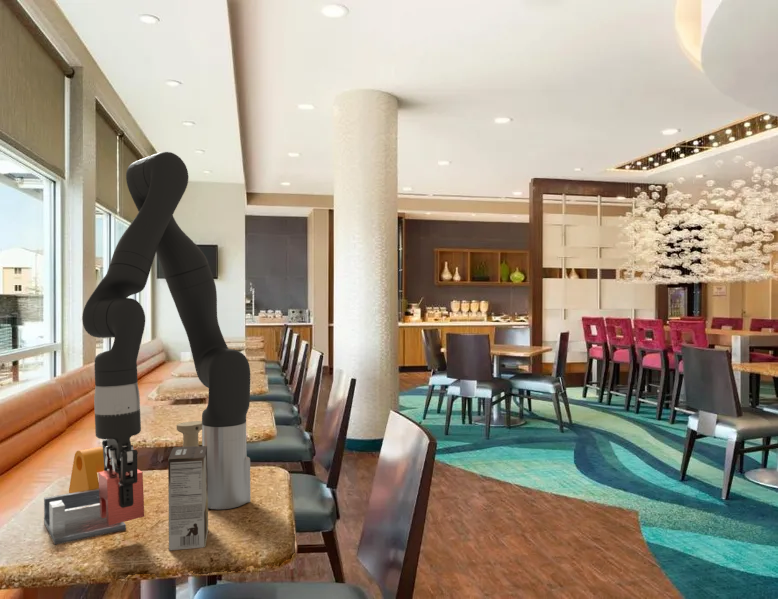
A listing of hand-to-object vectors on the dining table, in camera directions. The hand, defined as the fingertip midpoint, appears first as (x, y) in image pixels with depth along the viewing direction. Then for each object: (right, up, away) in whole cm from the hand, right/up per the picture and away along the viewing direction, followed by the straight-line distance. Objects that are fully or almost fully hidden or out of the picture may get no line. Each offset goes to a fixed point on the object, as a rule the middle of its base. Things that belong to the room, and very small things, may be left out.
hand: (121, 501), depth 112 cm
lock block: (0, -3, 0) cm, 3 cm away
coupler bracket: (-11, -8, +8) cm, 16 cm away
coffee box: (+12, -7, +1) cm, 14 cm away
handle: (+2, -8, +33) cm, 34 cm away
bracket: (-15, -8, +23) cm, 29 cm away
